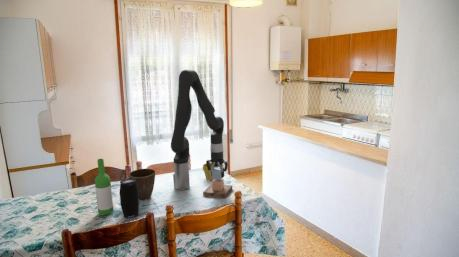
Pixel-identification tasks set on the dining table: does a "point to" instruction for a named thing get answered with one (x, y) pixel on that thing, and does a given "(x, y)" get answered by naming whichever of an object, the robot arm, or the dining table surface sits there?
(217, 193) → the walnut board
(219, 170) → the slate blue block
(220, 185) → the terracotta block
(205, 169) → the plant pot
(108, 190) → the wine bottle
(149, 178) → the plant pot
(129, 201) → the portable speaker
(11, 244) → the dining table surface
